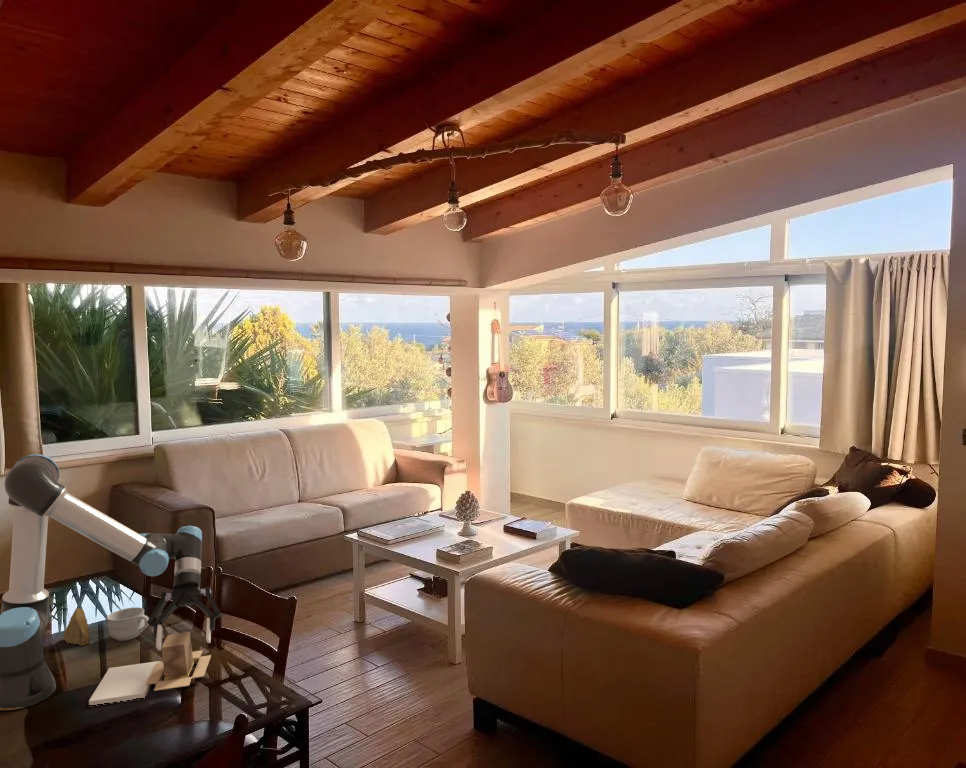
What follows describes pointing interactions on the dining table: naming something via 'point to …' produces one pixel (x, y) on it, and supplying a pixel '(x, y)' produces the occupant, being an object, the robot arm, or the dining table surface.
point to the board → (123, 684)
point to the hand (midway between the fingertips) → (183, 645)
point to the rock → (77, 629)
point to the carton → (181, 682)
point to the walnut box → (177, 656)
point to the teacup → (127, 623)
